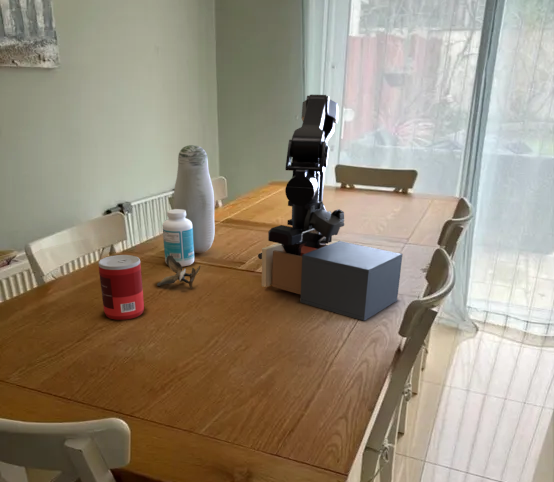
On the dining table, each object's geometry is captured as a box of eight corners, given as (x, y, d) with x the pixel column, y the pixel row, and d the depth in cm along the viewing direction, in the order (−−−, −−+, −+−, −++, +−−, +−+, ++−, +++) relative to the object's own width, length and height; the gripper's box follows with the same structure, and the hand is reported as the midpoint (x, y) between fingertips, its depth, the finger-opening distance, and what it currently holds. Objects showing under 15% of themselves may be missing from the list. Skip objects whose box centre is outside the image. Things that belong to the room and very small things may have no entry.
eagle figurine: (203, 276, 128) (169, 265, 130) (199, 257, 122) (163, 245, 124) (188, 301, 125) (153, 289, 126) (184, 283, 119) (147, 271, 120)
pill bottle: (189, 257, 146) (187, 206, 140) (198, 265, 140) (195, 212, 134) (161, 261, 143) (158, 209, 137) (169, 269, 137) (165, 215, 131)
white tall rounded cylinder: (170, 252, 150) (163, 145, 138) (198, 245, 157) (193, 142, 146) (195, 259, 144) (189, 148, 133) (222, 251, 151) (220, 145, 140)
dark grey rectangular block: (300, 302, 117) (302, 254, 113) (336, 284, 128) (339, 240, 124) (364, 321, 109) (368, 270, 105) (397, 300, 120) (402, 253, 115)
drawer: (247, 282, 126) (247, 244, 122) (282, 268, 136) (283, 233, 132) (314, 301, 116) (316, 261, 112) (347, 285, 125) (350, 247, 122)
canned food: (151, 308, 113) (147, 257, 108) (130, 323, 106) (124, 268, 101) (119, 303, 115) (114, 252, 110) (96, 317, 108) (89, 263, 104)
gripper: (312, 208, 106) (308, 285, 112) (360, 195, 119) (355, 264, 126) (267, 200, 112) (266, 273, 118) (317, 189, 125) (314, 254, 132)
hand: (302, 266), depth 123 cm, fingers closed on block, 5 cm apart
